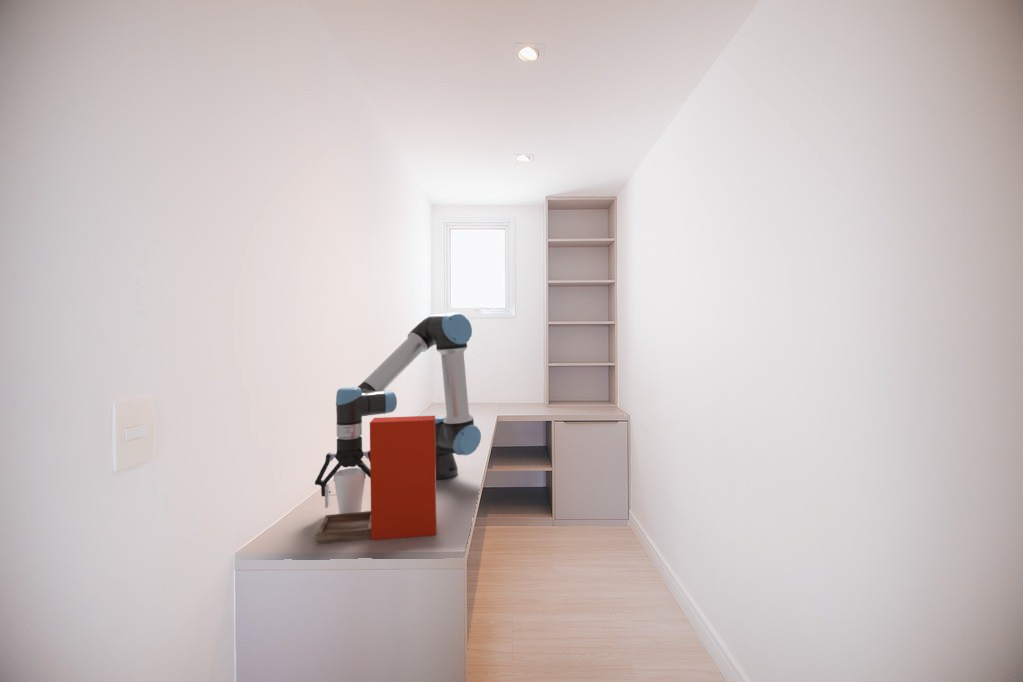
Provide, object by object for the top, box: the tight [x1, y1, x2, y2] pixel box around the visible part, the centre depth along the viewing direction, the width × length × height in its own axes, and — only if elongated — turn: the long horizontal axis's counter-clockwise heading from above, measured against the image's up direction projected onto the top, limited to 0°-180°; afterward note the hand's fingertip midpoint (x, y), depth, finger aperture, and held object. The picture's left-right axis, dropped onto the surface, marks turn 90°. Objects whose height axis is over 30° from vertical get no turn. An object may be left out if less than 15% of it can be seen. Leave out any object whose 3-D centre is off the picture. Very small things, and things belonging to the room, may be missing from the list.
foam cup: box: [333, 467, 367, 514], centre depth 141 cm, size 10×9×13 cm
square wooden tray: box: [315, 510, 371, 545], centre depth 128 cm, size 14×14×2 cm
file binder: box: [369, 415, 438, 541], centre depth 126 cm, size 8×17×32 cm, turn 98°
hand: (350, 504), depth 141 cm, fingers open, 13 cm apart
